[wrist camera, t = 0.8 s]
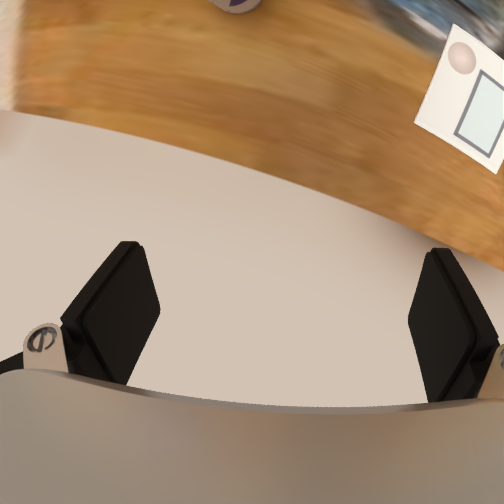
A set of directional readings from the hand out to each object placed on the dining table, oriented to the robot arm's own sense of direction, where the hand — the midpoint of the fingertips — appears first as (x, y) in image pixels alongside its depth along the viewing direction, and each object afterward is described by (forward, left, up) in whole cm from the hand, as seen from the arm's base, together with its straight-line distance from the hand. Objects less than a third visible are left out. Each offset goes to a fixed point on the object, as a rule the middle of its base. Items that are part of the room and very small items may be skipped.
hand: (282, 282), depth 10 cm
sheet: (-13, +19, -28) cm, 37 cm away
